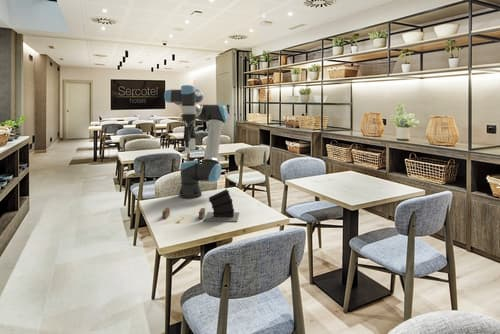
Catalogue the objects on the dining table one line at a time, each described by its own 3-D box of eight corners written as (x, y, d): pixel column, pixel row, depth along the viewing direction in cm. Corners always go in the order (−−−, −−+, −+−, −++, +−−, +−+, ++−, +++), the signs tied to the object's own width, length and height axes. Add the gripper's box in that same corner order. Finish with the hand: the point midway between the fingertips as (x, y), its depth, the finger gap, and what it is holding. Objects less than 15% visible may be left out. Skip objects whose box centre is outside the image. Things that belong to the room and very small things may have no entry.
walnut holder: (162, 218, 190) (162, 211, 189) (166, 214, 196) (166, 207, 196) (202, 219, 188) (202, 212, 188) (205, 215, 195) (204, 208, 195)
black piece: (239, 214, 189) (226, 190, 186) (217, 224, 190) (205, 200, 188) (239, 212, 192) (227, 188, 190) (218, 221, 194) (206, 198, 192)
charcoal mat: (207, 213, 199) (207, 212, 199) (239, 213, 198) (239, 212, 198) (203, 221, 185) (203, 220, 185) (237, 221, 184) (237, 220, 184)
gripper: (187, 112, 207) (188, 148, 211) (176, 114, 182) (178, 154, 186) (199, 112, 206) (201, 148, 210) (190, 114, 182) (192, 154, 186)
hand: (190, 151), depth 198 cm, fingers open, 13 cm apart
